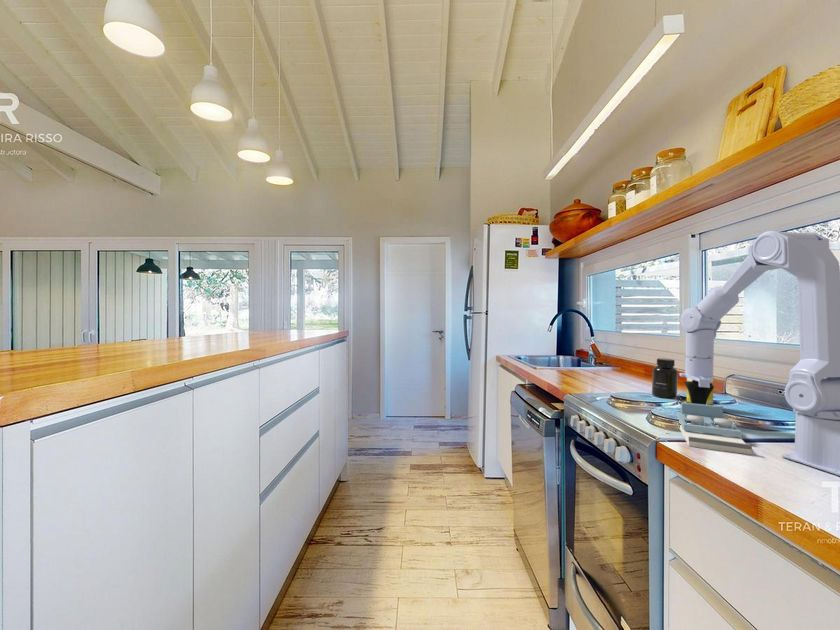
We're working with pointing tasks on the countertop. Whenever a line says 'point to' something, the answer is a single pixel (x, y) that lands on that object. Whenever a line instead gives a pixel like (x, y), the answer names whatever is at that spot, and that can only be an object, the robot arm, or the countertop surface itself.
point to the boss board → (715, 437)
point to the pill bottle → (710, 398)
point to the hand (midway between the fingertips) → (698, 411)
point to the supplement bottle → (665, 379)
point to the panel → (705, 419)
